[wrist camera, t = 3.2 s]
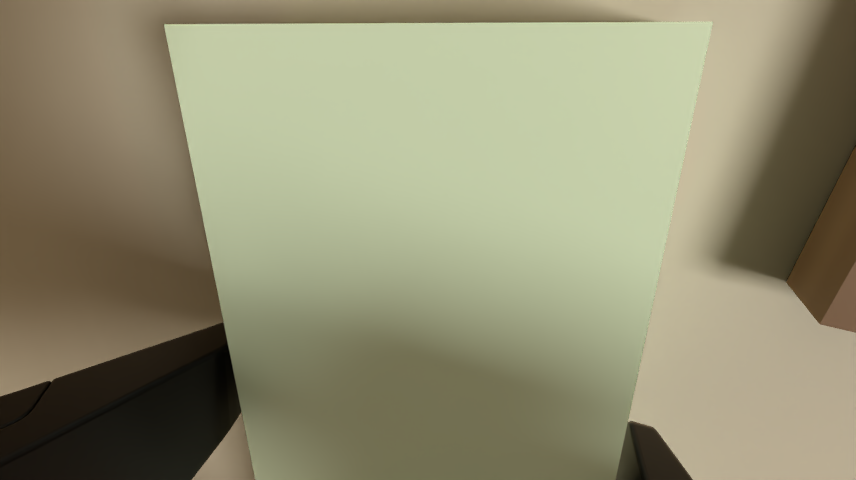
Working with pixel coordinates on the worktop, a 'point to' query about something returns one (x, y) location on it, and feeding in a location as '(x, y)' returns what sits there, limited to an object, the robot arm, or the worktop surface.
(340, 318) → the pale green board
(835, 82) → the worktop surface
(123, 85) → the worktop surface
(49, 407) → the robot arm
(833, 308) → the walnut plate
